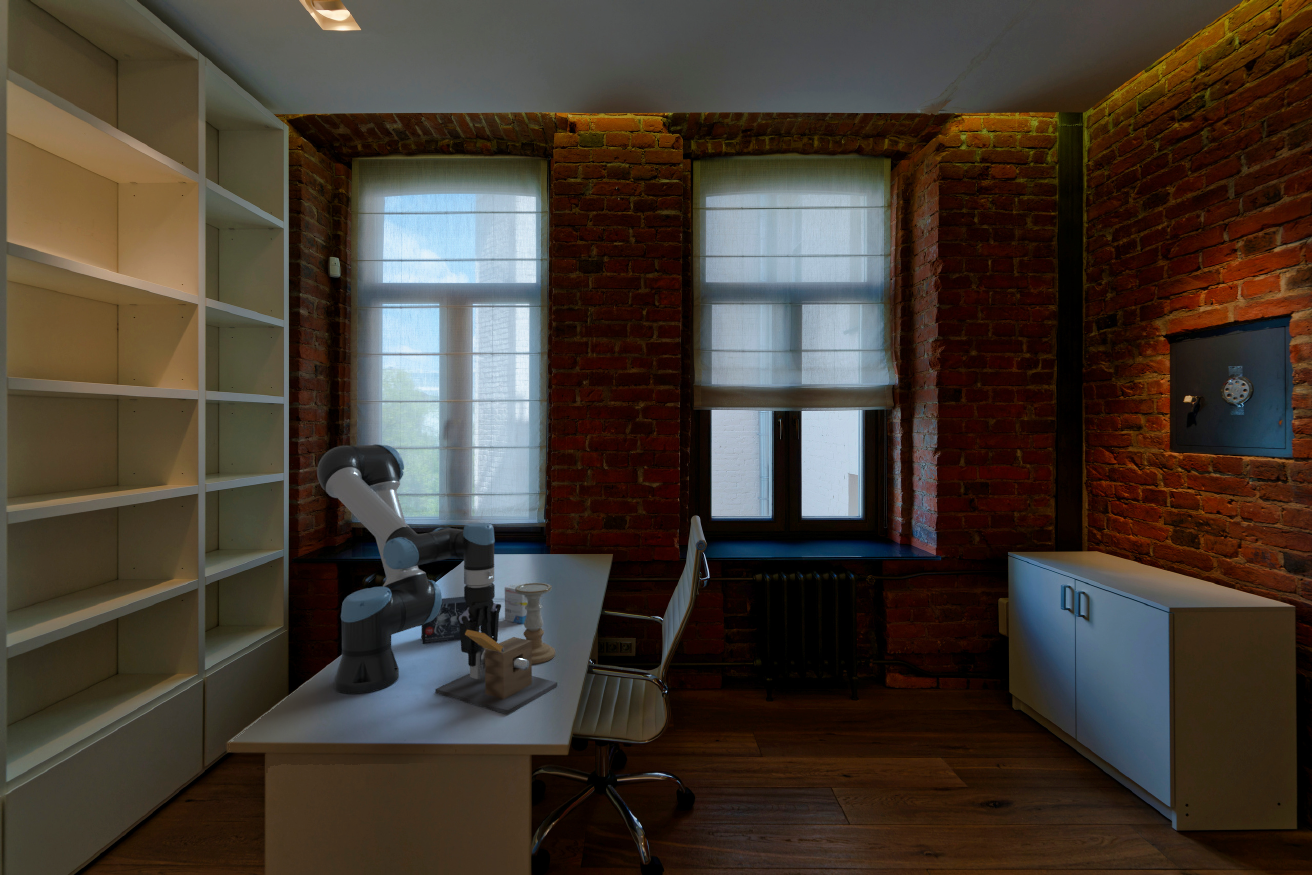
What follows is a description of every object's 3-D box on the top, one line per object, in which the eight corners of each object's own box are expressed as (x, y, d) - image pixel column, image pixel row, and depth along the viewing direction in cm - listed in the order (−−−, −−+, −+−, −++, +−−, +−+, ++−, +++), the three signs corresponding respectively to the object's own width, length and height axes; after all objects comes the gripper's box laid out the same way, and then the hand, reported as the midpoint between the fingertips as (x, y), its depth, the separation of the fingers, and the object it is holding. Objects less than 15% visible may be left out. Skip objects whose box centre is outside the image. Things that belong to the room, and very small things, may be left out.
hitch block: (435, 692, 152) (435, 644, 152) (488, 668, 168) (488, 624, 168) (507, 714, 140) (507, 662, 140) (557, 686, 156) (557, 639, 156)
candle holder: (510, 665, 170) (510, 593, 170) (513, 650, 182) (513, 582, 182) (555, 662, 172) (554, 591, 171) (555, 647, 184) (555, 580, 184)
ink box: (539, 617, 213) (539, 584, 213) (522, 624, 206) (521, 590, 206) (521, 613, 218) (521, 581, 218) (504, 620, 211) (503, 586, 210)
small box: (422, 645, 187) (421, 606, 186) (420, 638, 193) (420, 600, 193) (467, 638, 192) (466, 600, 192) (464, 632, 198) (464, 595, 198)
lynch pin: (465, 666, 156) (465, 643, 156) (480, 660, 160) (480, 637, 160) (519, 680, 147) (518, 656, 147) (532, 673, 152) (532, 649, 152)
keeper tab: (464, 634, 143) (467, 629, 144) (485, 649, 149) (488, 644, 150) (482, 638, 141) (484, 633, 141) (502, 653, 146) (505, 648, 147)
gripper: (466, 593, 148) (466, 689, 148) (512, 579, 162) (512, 667, 162) (444, 589, 152) (445, 683, 152) (491, 575, 166) (491, 662, 166)
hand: (480, 674), depth 157 cm, fingers closed on lynch pin, 3 cm apart
